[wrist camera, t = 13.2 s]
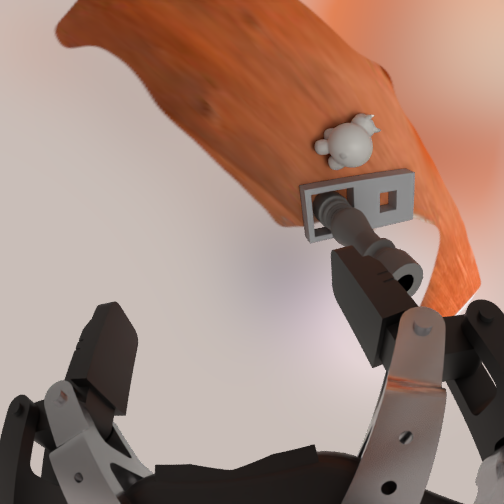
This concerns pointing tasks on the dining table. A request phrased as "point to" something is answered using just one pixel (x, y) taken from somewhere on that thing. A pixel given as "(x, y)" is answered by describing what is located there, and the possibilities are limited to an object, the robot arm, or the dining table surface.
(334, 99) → the dining table surface
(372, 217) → the hole board
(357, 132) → the toy rhinoceros
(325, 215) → the candle holder
